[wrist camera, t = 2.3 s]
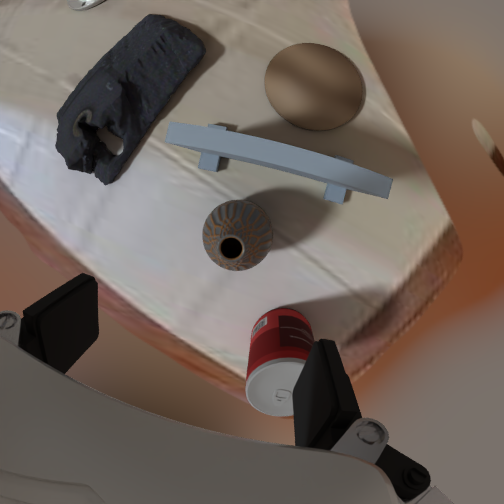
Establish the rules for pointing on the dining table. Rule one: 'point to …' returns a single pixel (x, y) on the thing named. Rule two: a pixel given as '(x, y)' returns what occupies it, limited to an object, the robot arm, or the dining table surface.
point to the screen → (278, 159)
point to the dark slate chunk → (125, 94)
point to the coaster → (313, 86)
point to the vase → (237, 235)
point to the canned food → (277, 360)
